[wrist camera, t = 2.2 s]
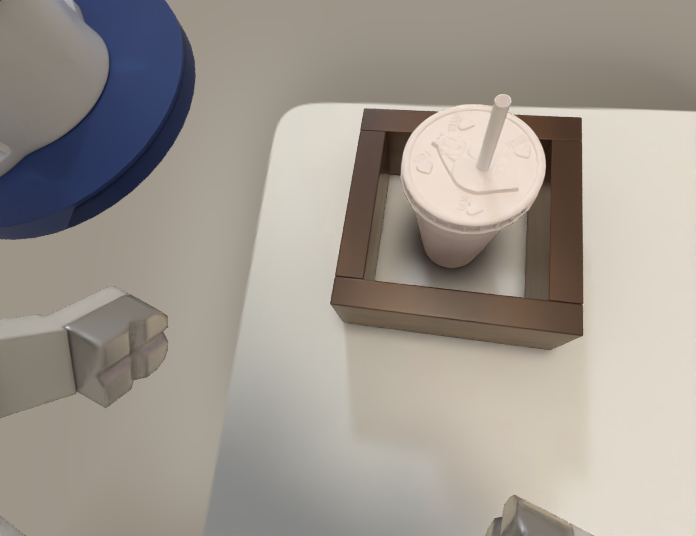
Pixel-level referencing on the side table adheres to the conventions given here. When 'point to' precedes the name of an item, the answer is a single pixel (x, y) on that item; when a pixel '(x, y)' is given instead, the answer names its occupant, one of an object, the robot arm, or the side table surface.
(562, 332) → the crate
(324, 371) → the side table surface
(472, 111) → the smoothie
